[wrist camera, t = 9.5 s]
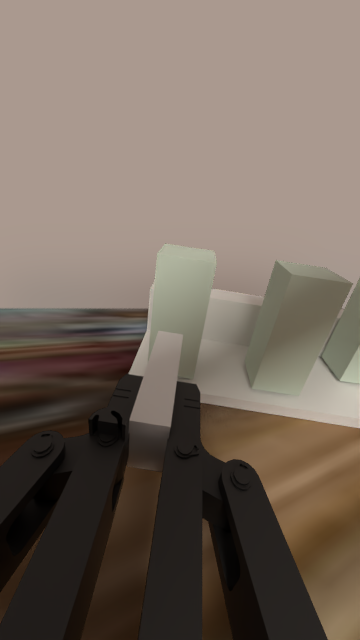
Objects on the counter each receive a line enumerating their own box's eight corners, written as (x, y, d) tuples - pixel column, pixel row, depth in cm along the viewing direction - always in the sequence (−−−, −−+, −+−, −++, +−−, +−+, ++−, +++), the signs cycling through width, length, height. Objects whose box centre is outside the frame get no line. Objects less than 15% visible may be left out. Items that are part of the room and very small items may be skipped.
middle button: (284, 366, 24) (325, 267, 19) (298, 396, 20) (352, 283, 16) (244, 360, 24) (275, 260, 20) (251, 388, 20) (292, 274, 16)
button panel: (350, 356, 30) (374, 313, 27) (426, 438, 20) (477, 382, 17) (151, 325, 30) (155, 279, 28) (125, 390, 20) (127, 328, 17)
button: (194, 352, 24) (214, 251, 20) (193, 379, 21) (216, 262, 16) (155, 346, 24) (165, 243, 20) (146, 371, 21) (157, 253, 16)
